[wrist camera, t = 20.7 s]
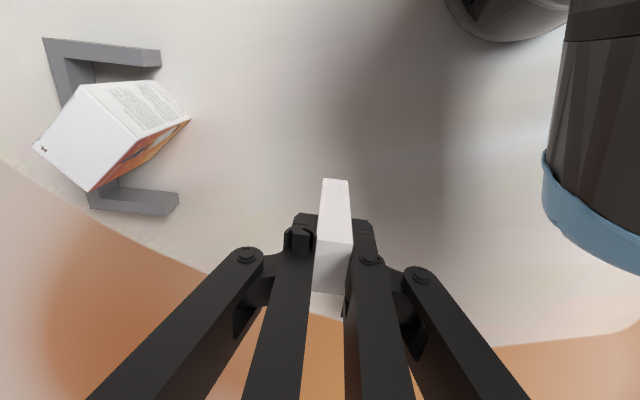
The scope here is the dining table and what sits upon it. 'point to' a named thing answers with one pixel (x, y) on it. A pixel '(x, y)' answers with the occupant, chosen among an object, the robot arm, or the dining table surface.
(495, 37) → the robot arm
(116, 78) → the dining table surface
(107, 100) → the small box
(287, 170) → the dining table surface
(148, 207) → the square bracket
